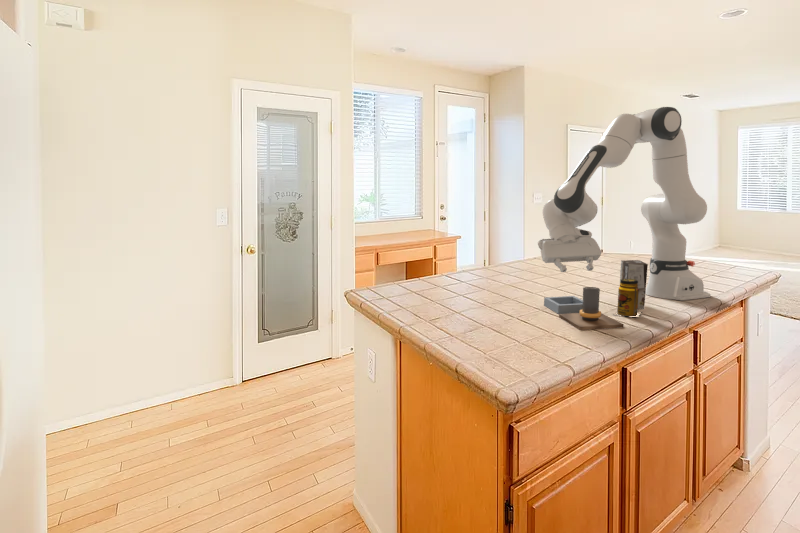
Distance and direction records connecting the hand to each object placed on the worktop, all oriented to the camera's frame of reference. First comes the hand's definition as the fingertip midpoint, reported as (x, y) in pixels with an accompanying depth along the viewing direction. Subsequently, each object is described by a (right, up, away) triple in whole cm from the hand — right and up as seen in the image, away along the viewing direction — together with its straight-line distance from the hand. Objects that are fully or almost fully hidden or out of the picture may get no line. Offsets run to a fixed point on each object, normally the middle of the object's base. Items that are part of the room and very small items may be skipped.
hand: (577, 270), depth 149 cm
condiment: (+18, -15, +1) cm, 23 cm away
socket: (0, -14, +9) cm, 16 cm away
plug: (+1, -15, -7) cm, 17 cm away
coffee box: (+24, -13, +10) cm, 29 cm away
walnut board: (+1, -17, -7) cm, 18 cm away
